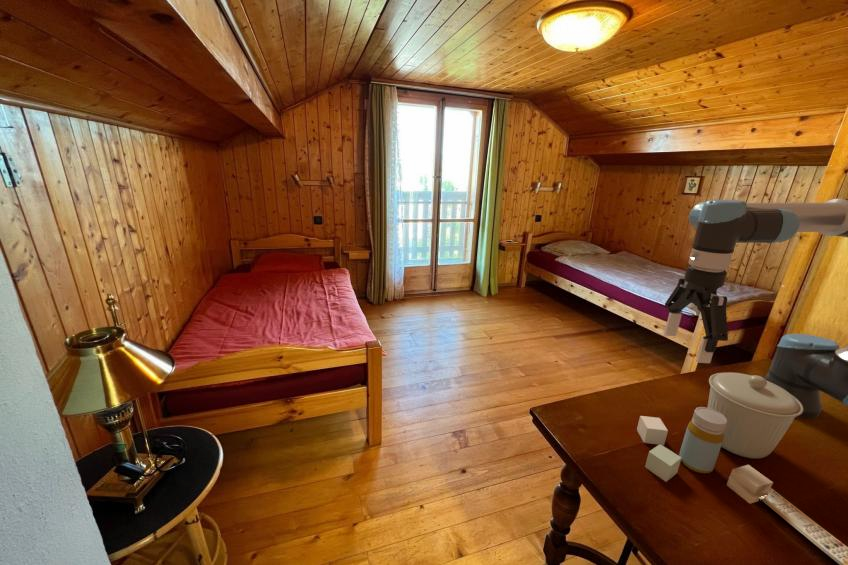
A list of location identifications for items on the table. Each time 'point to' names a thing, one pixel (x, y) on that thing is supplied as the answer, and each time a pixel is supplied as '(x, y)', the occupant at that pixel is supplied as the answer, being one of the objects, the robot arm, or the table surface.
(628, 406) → the table surface
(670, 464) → the sage cube
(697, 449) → the bottle
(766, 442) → the canister
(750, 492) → the birch cube
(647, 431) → the cream cube
